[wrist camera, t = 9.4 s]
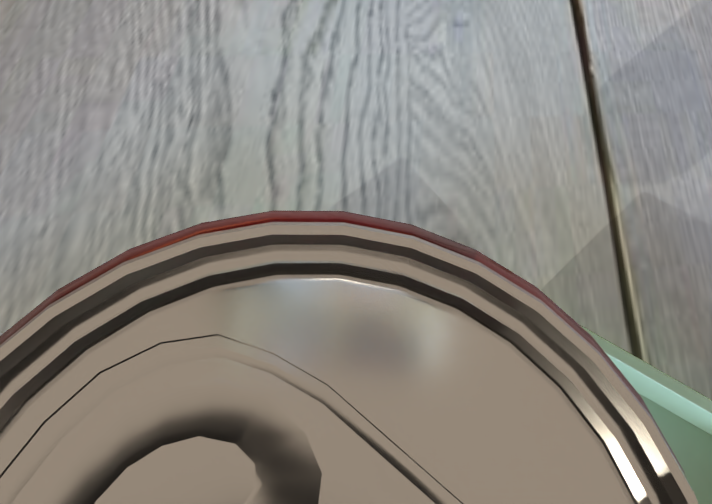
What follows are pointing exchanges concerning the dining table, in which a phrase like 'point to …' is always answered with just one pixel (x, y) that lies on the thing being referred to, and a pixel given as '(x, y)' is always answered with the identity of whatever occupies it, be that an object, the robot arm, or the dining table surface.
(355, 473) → the soda can
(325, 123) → the dining table surface
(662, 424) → the wash tray
